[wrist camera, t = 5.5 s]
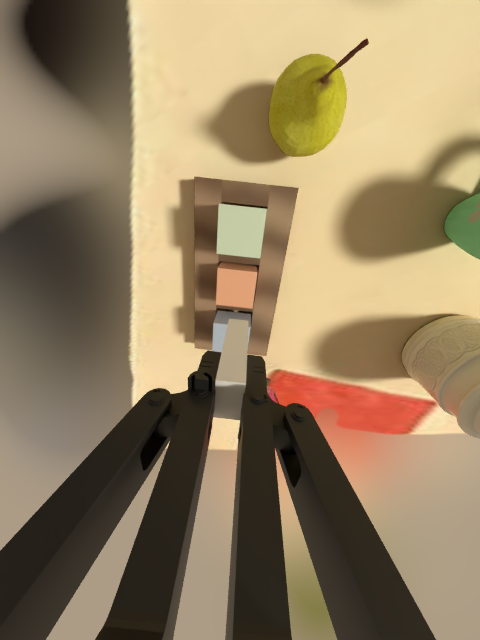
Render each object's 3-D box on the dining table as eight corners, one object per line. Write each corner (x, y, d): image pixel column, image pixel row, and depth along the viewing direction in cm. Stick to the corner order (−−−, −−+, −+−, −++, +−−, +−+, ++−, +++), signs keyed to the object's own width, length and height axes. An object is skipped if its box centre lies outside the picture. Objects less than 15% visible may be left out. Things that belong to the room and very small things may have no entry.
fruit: (269, 168, 25) (282, 137, 15) (263, 89, 22) (274, -23, 11) (329, 157, 24) (388, 115, 14) (331, 74, 21) (411, -62, 11)
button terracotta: (221, 261, 30) (217, 267, 26) (256, 264, 30) (257, 272, 26) (219, 294, 32) (215, 304, 29) (252, 297, 32) (252, 308, 29)
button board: (198, 179, 26) (194, 176, 24) (295, 189, 26) (298, 188, 24) (197, 341, 37) (194, 348, 35) (265, 348, 37) (266, 355, 35)
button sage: (223, 204, 25) (218, 203, 22) (264, 209, 25) (267, 209, 22) (220, 248, 28) (216, 253, 24) (259, 252, 28) (260, 258, 24)
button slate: (217, 310, 32) (213, 323, 28) (250, 314, 32) (250, 327, 28) (216, 338, 34) (212, 353, 30) (247, 341, 34) (246, 357, 30)
